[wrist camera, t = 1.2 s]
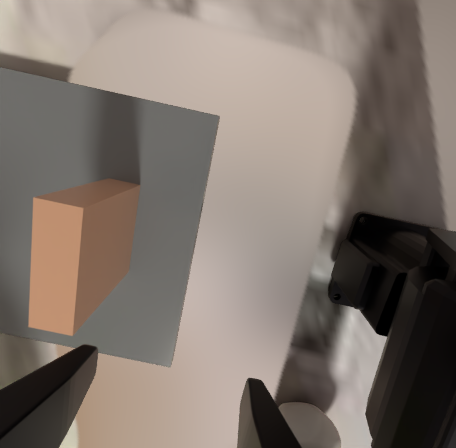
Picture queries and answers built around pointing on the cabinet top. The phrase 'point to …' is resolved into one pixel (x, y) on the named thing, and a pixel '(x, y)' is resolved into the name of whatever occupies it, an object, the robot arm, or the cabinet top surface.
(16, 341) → the cabinet top surface
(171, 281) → the slate board
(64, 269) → the tile
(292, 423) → the grey lumpy pointed piece
